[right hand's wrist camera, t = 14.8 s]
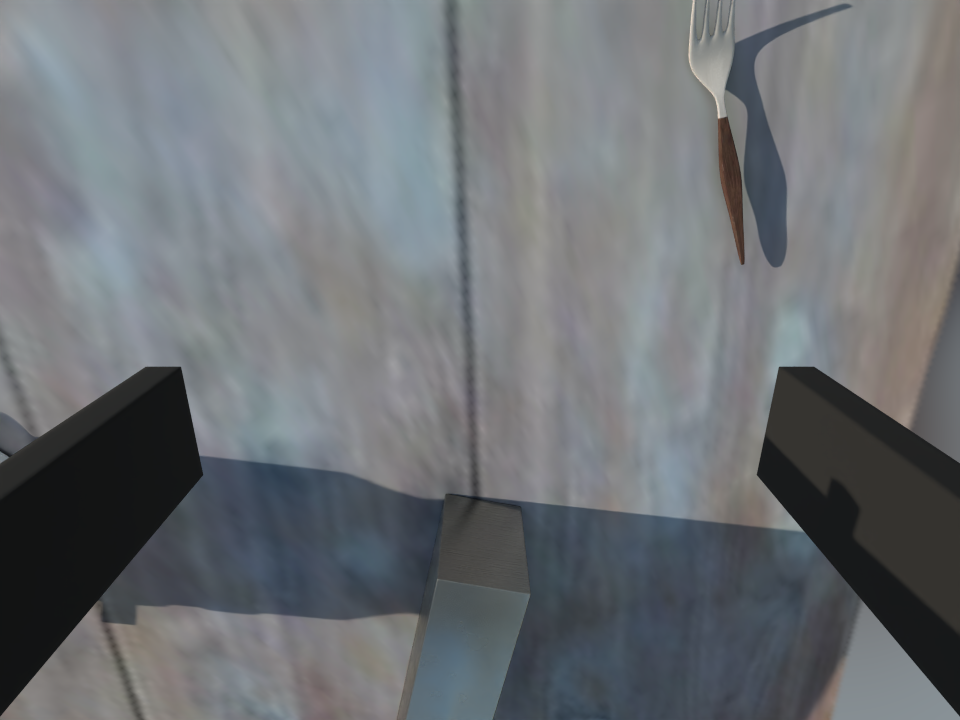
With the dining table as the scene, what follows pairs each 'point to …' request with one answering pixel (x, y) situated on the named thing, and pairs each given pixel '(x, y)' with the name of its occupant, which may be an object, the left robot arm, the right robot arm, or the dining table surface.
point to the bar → (468, 613)
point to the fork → (720, 104)
